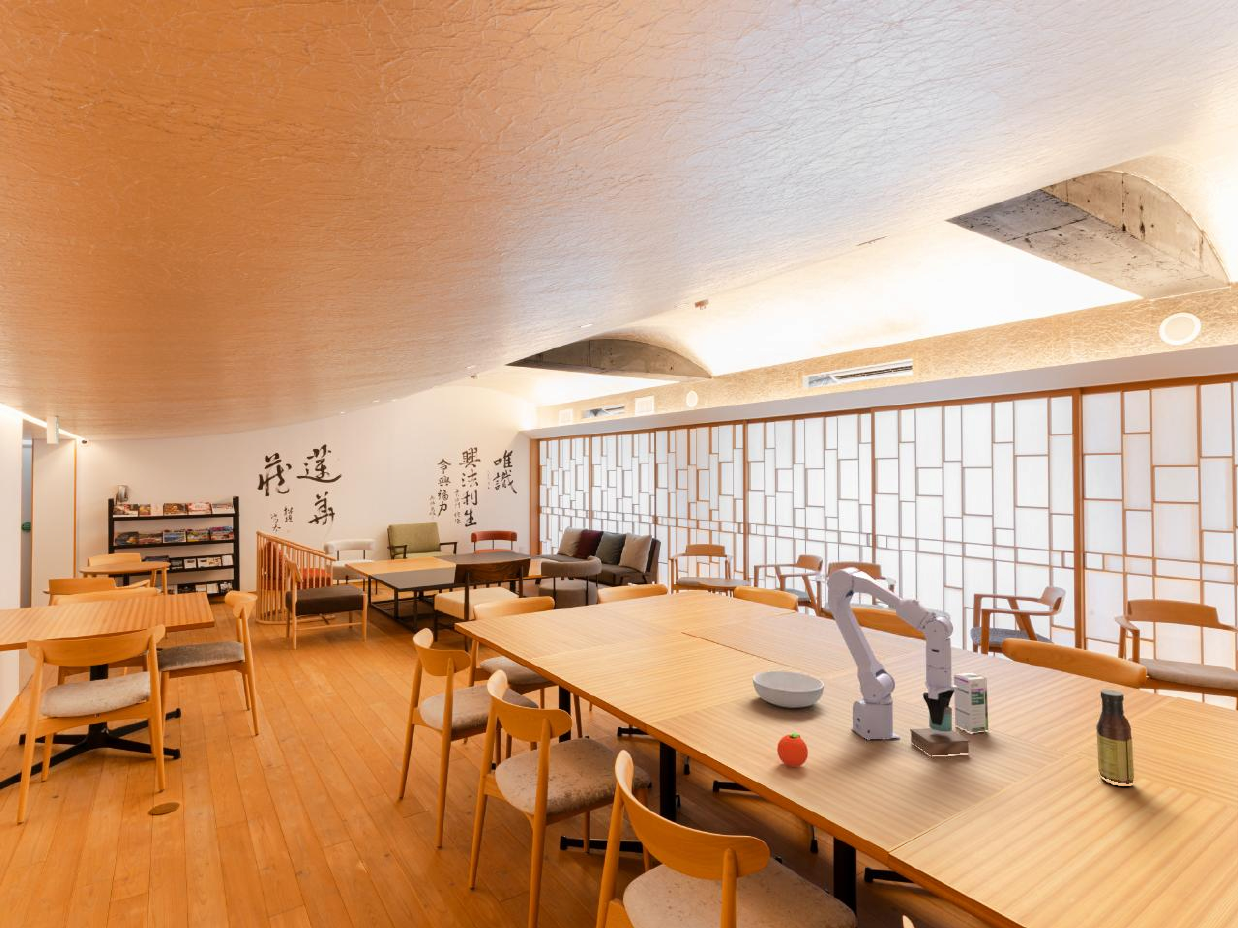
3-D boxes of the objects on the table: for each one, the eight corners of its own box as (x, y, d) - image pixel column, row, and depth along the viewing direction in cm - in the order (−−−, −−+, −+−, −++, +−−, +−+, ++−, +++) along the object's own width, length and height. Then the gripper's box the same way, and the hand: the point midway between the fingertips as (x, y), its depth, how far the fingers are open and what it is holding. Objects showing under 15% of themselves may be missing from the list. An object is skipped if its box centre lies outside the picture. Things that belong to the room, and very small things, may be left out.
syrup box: (971, 734, 167) (970, 679, 167) (953, 726, 173) (953, 672, 173) (988, 732, 168) (987, 677, 169) (970, 724, 174) (970, 671, 175)
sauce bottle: (1118, 775, 144) (1116, 687, 144) (1141, 788, 137) (1139, 696, 138) (1090, 775, 143) (1088, 687, 144) (1112, 788, 137) (1110, 696, 138)
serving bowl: (828, 718, 178) (828, 693, 179) (752, 712, 182) (752, 688, 183) (820, 694, 199) (820, 672, 199) (752, 689, 203) (752, 668, 203)
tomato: (786, 755, 153) (786, 725, 153) (814, 763, 149) (814, 732, 149) (772, 766, 147) (772, 735, 147) (800, 775, 142) (800, 743, 143)
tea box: (930, 758, 152) (930, 742, 153) (910, 744, 161) (910, 728, 161) (970, 756, 154) (969, 740, 154) (947, 743, 162) (947, 727, 162)
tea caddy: (937, 731, 154) (937, 711, 155) (925, 723, 159) (925, 703, 160) (956, 731, 155) (956, 710, 155) (943, 723, 160) (943, 703, 160)
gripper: (951, 675, 150) (951, 733, 149) (961, 662, 161) (962, 715, 161) (918, 669, 154) (919, 726, 154) (931, 657, 166) (931, 709, 165)
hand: (939, 720), depth 157 cm, fingers closed on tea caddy, 5 cm apart
